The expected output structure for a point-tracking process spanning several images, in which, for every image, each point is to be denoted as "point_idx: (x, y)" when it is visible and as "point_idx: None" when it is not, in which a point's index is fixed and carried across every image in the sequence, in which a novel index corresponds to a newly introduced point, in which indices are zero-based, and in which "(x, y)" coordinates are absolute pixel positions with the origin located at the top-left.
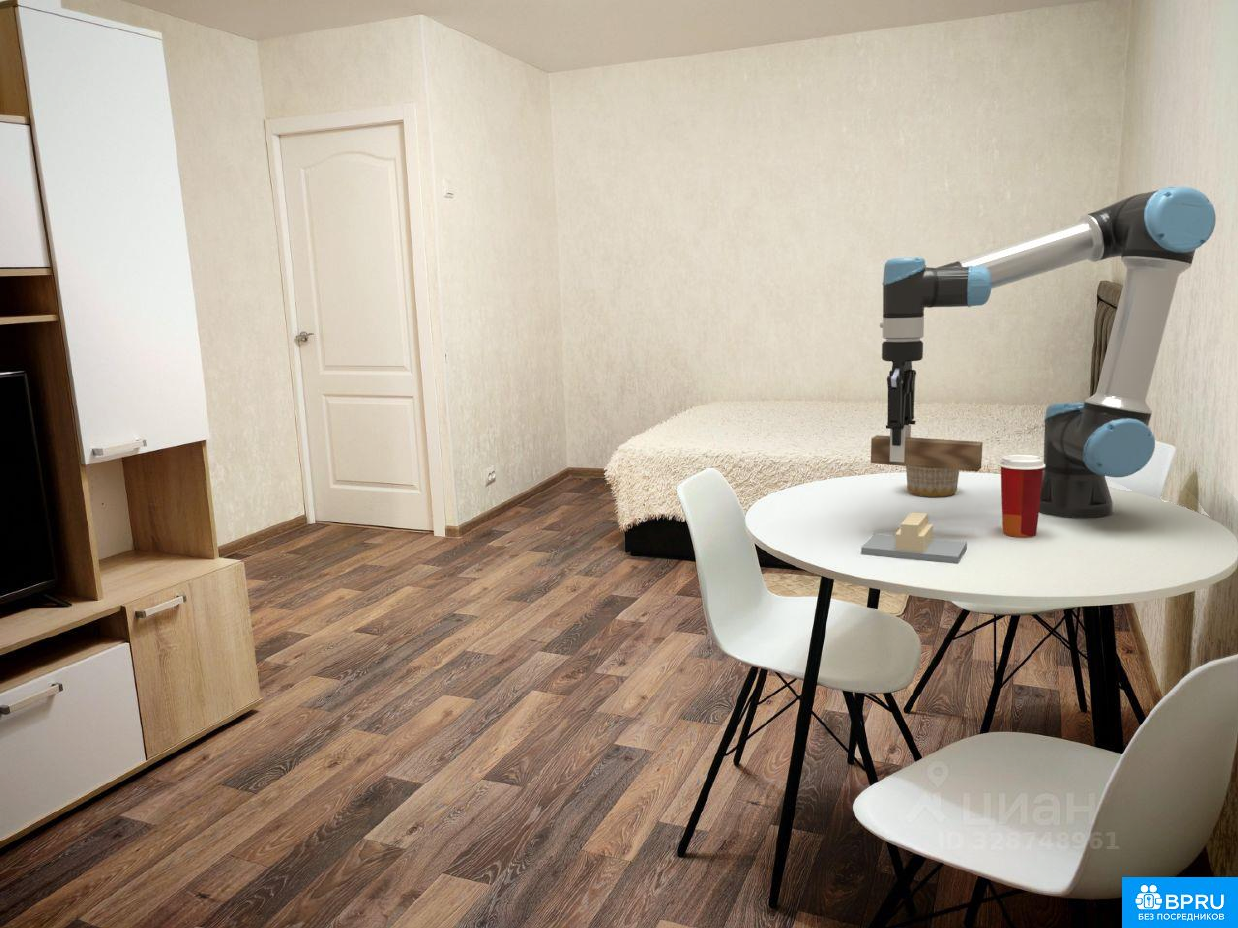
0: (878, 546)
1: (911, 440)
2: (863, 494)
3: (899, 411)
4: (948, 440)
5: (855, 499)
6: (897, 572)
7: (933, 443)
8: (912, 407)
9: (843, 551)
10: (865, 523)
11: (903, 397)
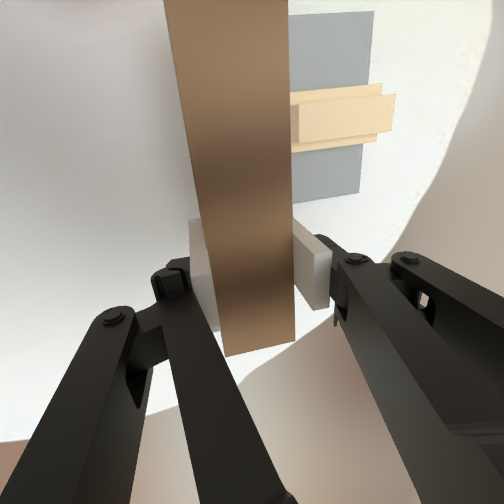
0: (347, 171)
1: (281, 212)
2: None
3: (494, 298)
4: (194, 35)
5: (24, 344)
6: (427, 106)
7: (288, 103)
8: (116, 367)
9: (348, 217)
10: (183, 257)
11: (488, 398)
